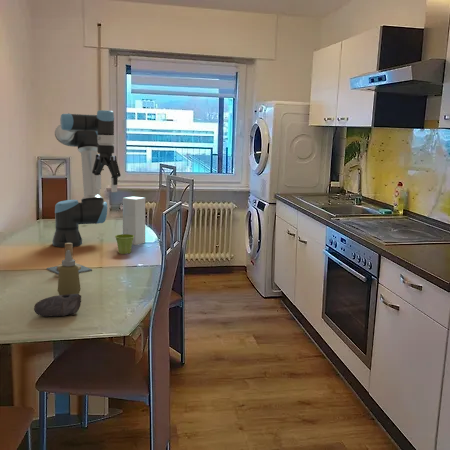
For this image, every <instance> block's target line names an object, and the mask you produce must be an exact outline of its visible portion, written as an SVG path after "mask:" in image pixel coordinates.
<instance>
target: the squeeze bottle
mask: <svg viewBox="0 0 450 450" xmlns="http://www.w3.org/2000/svg"><path fill="white" fill-rule="evenodd" d="M75 263H76V260H75V259H74V258H73V259H72V257H71V253H70V250H67V251H66V256H65V255H64V259H62V260H61V264H62V266H61V267H60V268H59V275H58V281H57V293H58V295H67V294H80V291H81V281H80V273H79V272H78V267H77V266H76V265H75Z"/></svg>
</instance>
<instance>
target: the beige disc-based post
mask: <svg viewBox="0 0 450 450" xmlns="http://www.w3.org/2000/svg"><path fill="white" fill-rule="evenodd" d="M73 248H74V247H73V243H65V247H64V257H65V256H66V251H67V250H70V253H71V257H72V259H74V258H73V257H74V255H73V254H74V249H73ZM75 265H76V266H77V267H78V270H80V269H81V265H82V264H80V263H77V262H75ZM56 266H57V270H59V268H60V267H61V266H62V263H61V264H58V265H56Z"/></svg>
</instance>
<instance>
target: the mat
mask: <svg viewBox="0 0 450 450" xmlns="http://www.w3.org/2000/svg"><path fill="white" fill-rule="evenodd" d="M80 265H81V269H80V270H78V272H79V274H80V273H81V274H82V273H87V272H92V270H93V269H92V268H89V267H87V266H84V265H83V264H80ZM57 266H58V265H55V266H50V267H46V271H47V270H48V271H50V272H52V273H54V274H56V275H58V276H59V270H57Z"/></svg>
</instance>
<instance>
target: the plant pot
mask: <svg viewBox="0 0 450 450" xmlns="http://www.w3.org/2000/svg"><path fill="white" fill-rule="evenodd" d="M133 237H134V235H130V234H123V233H122V234H116V235H115V236H114V238H115V240H116V243H117V244H116V245H117V252H118V253H119V255H120V254H121V255H127V254H131V253H132V247H133V245H132V241H133Z"/></svg>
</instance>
